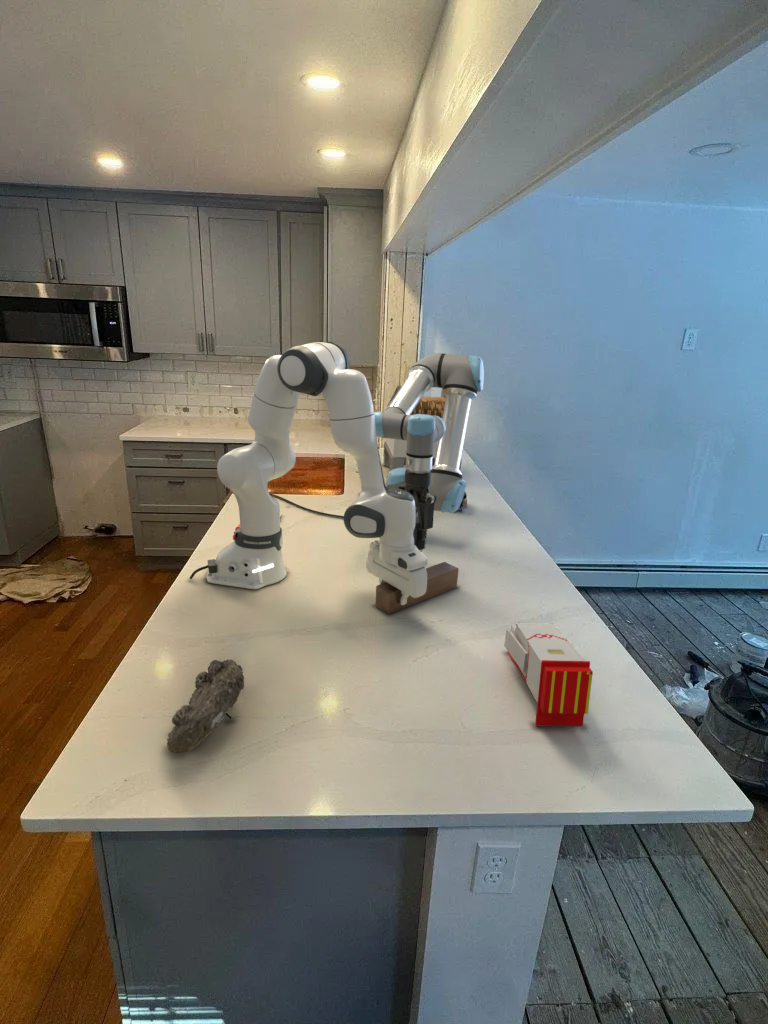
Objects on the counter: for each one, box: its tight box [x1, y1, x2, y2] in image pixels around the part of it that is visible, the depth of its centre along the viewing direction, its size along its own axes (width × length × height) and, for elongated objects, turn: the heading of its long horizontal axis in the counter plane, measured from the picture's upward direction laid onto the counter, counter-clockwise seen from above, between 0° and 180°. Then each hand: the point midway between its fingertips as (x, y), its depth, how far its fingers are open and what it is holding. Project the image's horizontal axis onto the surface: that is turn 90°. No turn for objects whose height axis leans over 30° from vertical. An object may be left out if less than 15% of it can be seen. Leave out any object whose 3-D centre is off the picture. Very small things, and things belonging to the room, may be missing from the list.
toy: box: [503, 622, 594, 727], centre depth 121 cm, size 12×13×30 cm
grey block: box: [413, 516, 427, 552], centre depth 167 cm, size 5×5×9 cm
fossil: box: [166, 658, 245, 754], centre depth 106 cm, size 22×10×15 cm
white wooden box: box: [383, 384, 463, 473], centre depth 268 cm, size 34×33×41 cm
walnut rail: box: [374, 561, 459, 615], centre depth 156 cm, size 6×26×6 cm, turn 131°
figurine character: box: [458, 491, 468, 512], centre depth 228 cm, size 7×8×15 cm
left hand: (393, 598), depth 151 cm, fingers closed on walnut rail, 5 cm apart
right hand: (413, 545), depth 168 cm, fingers closed on grey block, 5 cm apart
